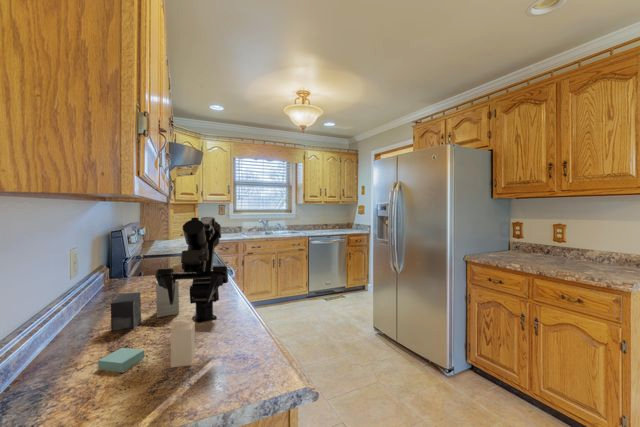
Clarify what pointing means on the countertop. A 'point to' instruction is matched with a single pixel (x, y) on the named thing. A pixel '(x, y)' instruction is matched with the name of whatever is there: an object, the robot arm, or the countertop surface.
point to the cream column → (182, 344)
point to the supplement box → (167, 301)
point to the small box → (126, 312)
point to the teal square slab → (121, 359)
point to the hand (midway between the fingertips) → (189, 303)
